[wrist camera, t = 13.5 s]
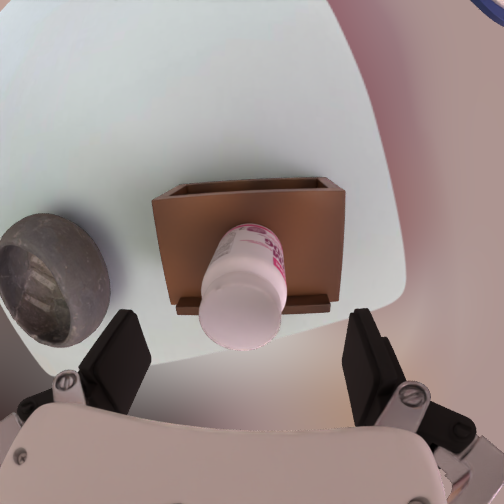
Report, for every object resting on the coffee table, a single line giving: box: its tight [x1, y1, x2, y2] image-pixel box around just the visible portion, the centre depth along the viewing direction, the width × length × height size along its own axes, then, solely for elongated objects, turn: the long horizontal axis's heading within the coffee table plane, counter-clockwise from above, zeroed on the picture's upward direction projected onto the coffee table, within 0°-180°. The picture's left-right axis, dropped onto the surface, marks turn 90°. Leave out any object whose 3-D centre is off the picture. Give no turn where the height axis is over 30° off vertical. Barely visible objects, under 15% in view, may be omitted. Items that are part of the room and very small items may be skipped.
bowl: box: [0, 213, 110, 348], centre depth 26 cm, size 15×15×10 cm
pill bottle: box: [199, 223, 287, 351], centre depth 17 cm, size 5×5×8 cm
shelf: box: [152, 177, 345, 315], centre depth 23 cm, size 14×9×8 cm, turn 93°
